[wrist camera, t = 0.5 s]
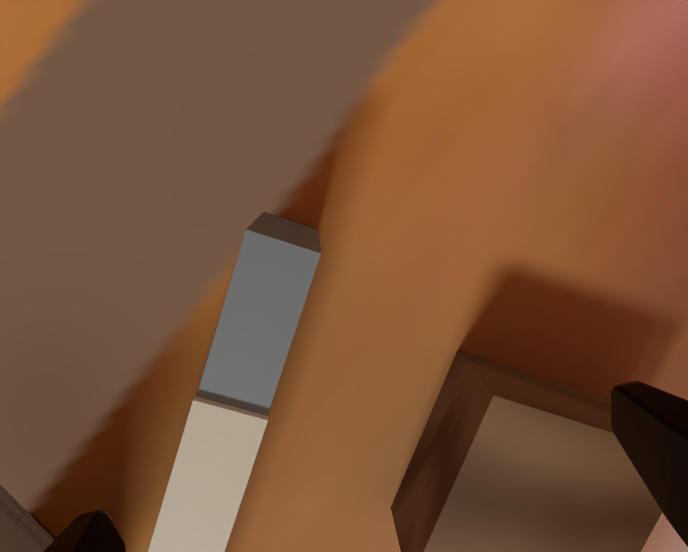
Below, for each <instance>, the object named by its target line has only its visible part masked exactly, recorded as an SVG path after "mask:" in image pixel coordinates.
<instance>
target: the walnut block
mask: <svg viewBox="0 0 688 552" xmlns="http://www.w3.org/2000/svg"><path fill="white" fill-rule="evenodd" d="M391 511H392V515H393V519H394V524H395V528H396V532H397V536H398V541H399V545H400V549H401V552H641V550H642V548H643V546H644V544H645V542H646V541H647V539H648V537H649V535H650V533H651V532H652V530H653V528H654V526H655V524H656V522H657V521H658V519H659V517H660V515H661V513H662V511H661V509H660V508H659V506H658V504H657V503H656V501H655V500H654V498H653V496H652V495H651V493H650V492H649V490H648V488H647V487H646V485H645V483H644V482H643V480H642V479H641V477H640V475H639V474H638V472H637V470H636V469H635V467H634V466H633V464H632V462H631V461H630V459H629V458H628V456H627V454H626V453H625V451H624V449H623V448H622V446H621V445H620V443H619V441H618V440H617V438H616V436H615V434H614V432H613V429H612V426H611V400H610V399H607V398H604V397H601V396H598V395H595V394H591V393H588V392H585V391H582V390H579V389H576V388H573V387H570V386H567V385H564V384H561V383H558V382H555V381H552V380H548V379H545V378H542V377H539V376H536V375H533V374H530V373H527V372H524V371H521V370H518V369H515V368H512V367H509V366H505V365H502V364H499V363H496V362H493V361H490V360H487V359H484V358H481V357H478V356H475V355H472V354H469V353H466V352H463V351H459V350H457V353H456V355H455V358H454V360H453V362H452V365H451V367H450V369H449V372H448V374H447V376H446V379H445V381H444V383H443V386H442V388H441V391H440V393H439V395H438V398H437V400H436V402H435V405H434V407H433V409H432V412H431V414H430V416H429V419H428V421H427V424H426V426H425V428H424V431H423V433H422V435H421V438H420V440H419V442H418V445H417V447H416V450H415V452H414V454H413V457H412V459H411V461H410V464H409V466H408V468H407V471H406V473H405V475H404V478H403V480H402V483H401V485H400V487H399V490H398V492H397V494H396V497H395V499H394V501H393V504H392V506H391Z"/></svg>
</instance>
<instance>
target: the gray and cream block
mask: <svg viewBox="0 0 688 552" xmlns="http://www.w3.org/2000/svg"><path fill="white" fill-rule="evenodd" d="M320 255H321V248H320V240H319V231H318V229H315V228H312V227H309V226H306V225H302V224H299V223H296V222H293V221H290V220H287V219H284V218H281V217H278V216H275V215H272V214H269V213H266V212H263V213H262V214H261V215H260V216H259V217H258V218H257V219H256V220H255V221H254V222H253V223H252V224H251V225H250V226H249V227H248V228H247V229H246V232H245V235H244V238H243V242H242V245H241V248H240V252H239V255H238V258H237V262H236V265H235V269H234V272H233V275H232V279H231V282H230V285H229V289H228V292H227V295H226V299H225V302H224V306H223V309H222V312H221V316H220V319H219V322H218V326H217V329H216V332H215V336H214V339H213V343H212V346H211V349H210V353H209V356H208V359H207V363H206V366H205V369H204V373H203V376H202V379H201V383H200V386H199V390H198V393H197V396H195V397H194V399H193V402H192V405H191V408H190V412H189V415H188V419H187V422H186V425H185V429H184V432H183V435H182V439H181V442H180V446H179V449H178V452H177V456H176V459H175V462H174V466H173V469H172V473H171V476H170V479H169V483H168V486H167V489H166V493H165V496H164V500H163V503H162V506H161V510H160V513H159V516H158V520H157V523H156V527H155V530H154V533H153V537H152V540H151V543H150V547H149V550H148V552H225V549H226V546H227V543H228V540H229V537H230V534H231V531H232V528H233V525H234V522H235V519H236V516H237V513H238V510H239V507H240V504H241V501H242V498H243V495H244V492H245V489H246V486H247V483H248V480H249V477H250V474H251V471H252V467H253V464H254V461H255V458H256V455H257V452H258V449H259V446H260V443H261V440H262V437H263V434H264V431H265V428H266V425H267V422H268V418H269V416H268V412H269V409H270V406H271V403H272V400H273V397H274V394H275V391H276V388H277V385H278V382H279V379H280V376H281V373H282V370H283V367H284V364H285V361H286V358H287V355H288V352H289V349H290V346H291V343H292V340H293V337H294V334H295V331H296V328H297V325H298V322H299V319H300V316H301V313H302V310H303V307H304V304H305V301H306V298H307V295H308V292H309V289H310V285H311V282H312V279H313V276H314V273H315V270H316V267H317V264H318V261H319V258H320Z"/></svg>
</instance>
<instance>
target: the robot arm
mask: <svg viewBox="0 0 688 552" xmlns="http://www.w3.org/2000/svg"><path fill="white" fill-rule="evenodd" d="M611 426H612V429H613V432H614V434H615V436H616V438H617V440H618V441H619V443H620V445H621V446H622V448H623V449H624V451H625V453H626V454H627V456H628V458H629V459H630V461H631V462H632V464H633V466H634V467H635V469H636V470H637V472H638V474H639V475H640V477H641V479H642V480H643V482H644V483H645V485H646V487H647V488H648V490H649V492H650V493H651V495H652V496H653V498H654V500H655V501H656V503H657V504H658V506H659V508H660V509H661V511H662V512H663V514H664V515H665V517H666V518H667V520H668V521H669V522H670V524H671V525H672V526H673V528H674V529H675V531H676V532H677V533H678V535H679V536H680V537H681V539H682V540H683V541H684V542H685V544H686V545H687V546H688V400H685V399H683V398H680V397H678V396H675V395H672V394H670V393H667V392H665V391H662V390H660V389H657V388H655V387H652V386H650V385H647V384H645V383H642V382H639V381H632V382H628V383H623V384H619V385H616V386H614V387H613V388H612V391H611ZM43 552H126V549H125V543H124V540H123V538H122V537H121V535H120V533H119V532H118V530H117V528H116V526H115V525H114V523H113V521H112V520H111V518H110V516H109V515H108V513H107V512H105V511H103V510H99V511H94V512H90V513H86V514H83V515H80V516H78V517H77V518H76V519H75V520H74V521H73V522H72V523H71V524H70V525H69V526H68V527H67V528H66V529H65V530H64V531H63V532H62V533H61V534H60V535H59V536H58V537H57V538H56V539H55V540H54V541H53V542H52V543H51V544H50V545H49V546H48V547H47V548H46V549H45V550H44V551H43Z"/></svg>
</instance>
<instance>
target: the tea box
mask: <svg viewBox="0 0 688 552" xmlns="http://www.w3.org/2000/svg"><path fill="white" fill-rule="evenodd" d="M53 541H54V539H53V538H52V537H51V536H50V535H49V534H48V533H47V532H46V531H45V530H44V529H43V528H42V527H41V526H40V525H39V524H38V523H37V522H36V521H35V520H34V518H33V517H32V516H31V515H30V514H29V513H28V512H27V511H26V510H25V509H24V508H23V507H22V506H21V505H20V504H19V503H18V502H17V501H16V500H15V499H14V498H13V497H12V496H11V495H10V494H9V493H8V492H7V491H6V490H5V489H4V488H3V487H2V486H1V485H0V552H43V551H44V550H45V549H46V548H47V547H48V546H49V545H50V544H51V543H52V542H53Z"/></svg>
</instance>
